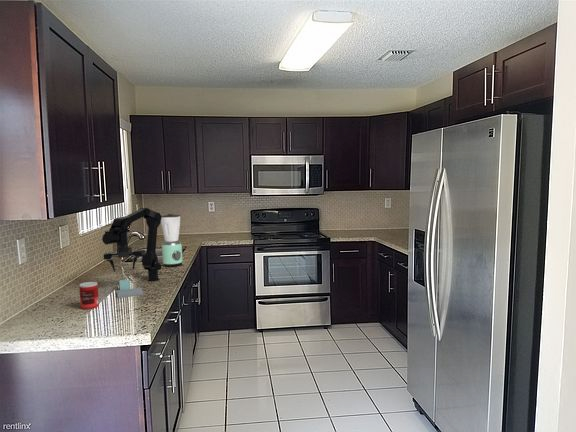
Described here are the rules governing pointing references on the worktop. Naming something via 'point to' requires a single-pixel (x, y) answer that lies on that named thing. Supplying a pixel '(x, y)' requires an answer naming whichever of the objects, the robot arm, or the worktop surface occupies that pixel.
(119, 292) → the pad
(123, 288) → the block
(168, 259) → the blender
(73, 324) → the worktop surface
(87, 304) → the canned food
